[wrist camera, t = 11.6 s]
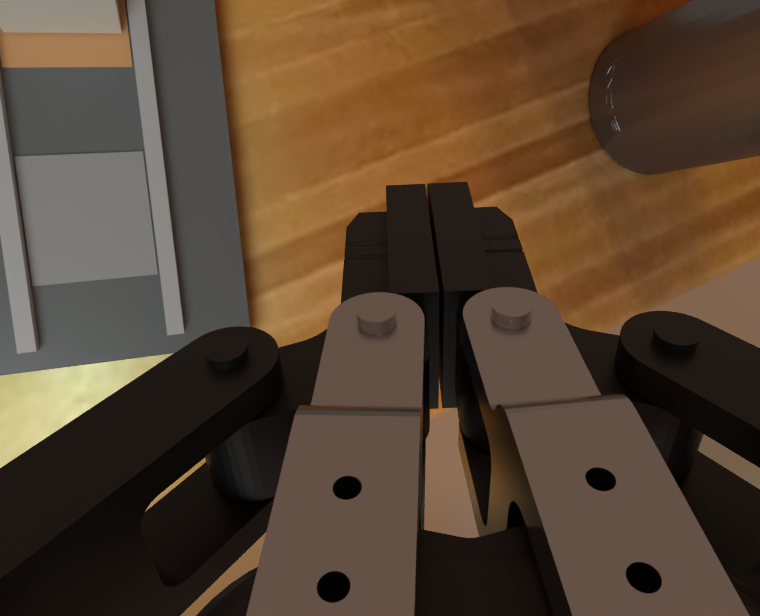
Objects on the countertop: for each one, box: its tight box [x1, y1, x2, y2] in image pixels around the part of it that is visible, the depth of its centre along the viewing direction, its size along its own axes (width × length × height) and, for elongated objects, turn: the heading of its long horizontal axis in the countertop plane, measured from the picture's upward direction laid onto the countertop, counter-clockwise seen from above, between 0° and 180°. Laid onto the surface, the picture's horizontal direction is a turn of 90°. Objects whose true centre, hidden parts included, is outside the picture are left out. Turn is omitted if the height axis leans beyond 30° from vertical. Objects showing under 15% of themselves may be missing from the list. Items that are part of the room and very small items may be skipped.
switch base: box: [0, 0, 250, 375], centre depth 31 cm, size 14×24×2 cm, turn 5°
